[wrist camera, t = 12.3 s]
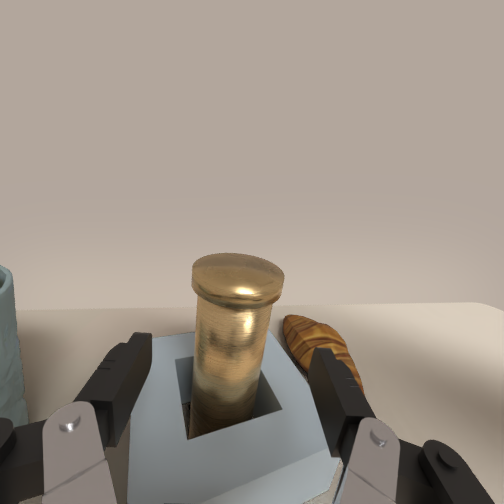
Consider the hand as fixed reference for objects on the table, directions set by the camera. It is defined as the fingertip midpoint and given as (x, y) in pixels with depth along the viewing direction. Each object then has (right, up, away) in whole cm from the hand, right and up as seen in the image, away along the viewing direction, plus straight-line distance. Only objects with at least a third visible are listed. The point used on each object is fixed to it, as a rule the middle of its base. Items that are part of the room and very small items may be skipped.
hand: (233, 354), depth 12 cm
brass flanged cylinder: (-2, -9, +7) cm, 12 cm away
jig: (-2, -9, +7) cm, 12 cm away
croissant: (+8, -8, +16) cm, 20 cm away
